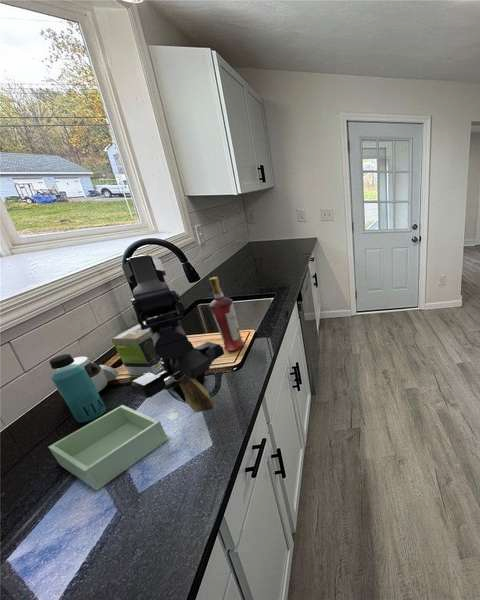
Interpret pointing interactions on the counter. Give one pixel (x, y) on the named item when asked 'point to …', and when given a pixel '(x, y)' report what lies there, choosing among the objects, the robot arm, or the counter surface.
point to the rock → (195, 394)
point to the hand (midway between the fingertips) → (192, 395)
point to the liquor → (225, 318)
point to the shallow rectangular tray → (108, 445)
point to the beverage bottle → (77, 389)
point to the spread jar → (97, 373)
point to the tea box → (137, 351)
